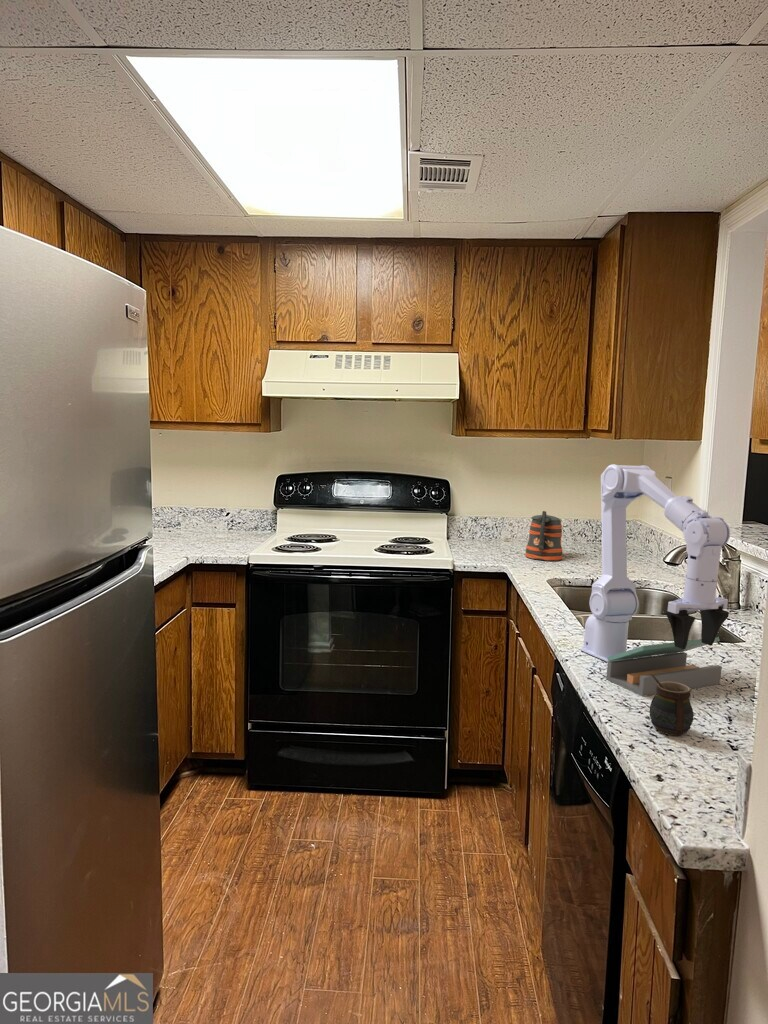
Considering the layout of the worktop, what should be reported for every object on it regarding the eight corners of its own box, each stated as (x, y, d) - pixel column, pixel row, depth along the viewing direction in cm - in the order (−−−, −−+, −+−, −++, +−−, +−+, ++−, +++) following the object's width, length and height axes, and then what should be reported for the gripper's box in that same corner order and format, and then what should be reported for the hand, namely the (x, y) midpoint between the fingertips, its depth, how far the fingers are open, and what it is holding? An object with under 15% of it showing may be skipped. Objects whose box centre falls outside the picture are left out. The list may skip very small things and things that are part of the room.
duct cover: (608, 661, 153) (607, 657, 153) (682, 651, 162) (681, 648, 163) (643, 650, 144) (642, 646, 144) (719, 640, 154) (718, 637, 154)
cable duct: (604, 678, 154) (605, 660, 153) (679, 667, 163) (681, 651, 163) (642, 696, 144) (644, 677, 144) (719, 684, 154) (721, 666, 154)
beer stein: (561, 565, 281) (566, 513, 279) (523, 561, 285) (527, 510, 282) (562, 556, 300) (566, 508, 297) (525, 553, 303) (529, 505, 301)
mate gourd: (700, 739, 125) (706, 683, 124) (657, 739, 124) (662, 682, 123) (680, 722, 132) (685, 668, 131) (639, 721, 132) (644, 668, 130)
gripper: (691, 585, 137) (683, 655, 139) (744, 581, 144) (736, 648, 145) (662, 576, 143) (655, 644, 145) (713, 573, 150) (706, 638, 151)
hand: (693, 645), depth 146 cm, fingers open, 7 cm apart
